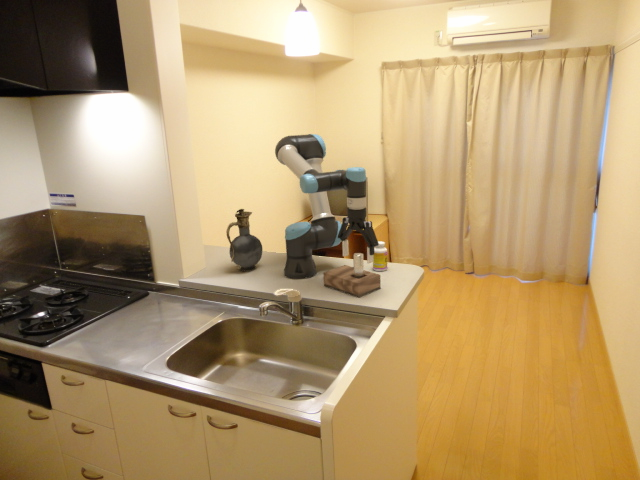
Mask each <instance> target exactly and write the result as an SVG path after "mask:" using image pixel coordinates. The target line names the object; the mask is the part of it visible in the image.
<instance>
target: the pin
mask: <svg viewBox="0 0 640 480" xmlns="http://www.w3.org/2000/svg"><path fill="white" fill-rule="evenodd" d="M364 266H365V265H364V253H361V252H355V253H353V267H354V277H355V278H358V279H360V278H362V277H364V270H365V268H364Z"/></svg>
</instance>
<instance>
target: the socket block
mask: <svg viewBox="0 0 640 480" xmlns="http://www.w3.org/2000/svg"><path fill="white" fill-rule="evenodd" d="M323 286H324V287H327V288H330V289H332V290H336V291H338V292H341V293H344V294H347V295H349V294H350V295H349V296H353V297H355V298H361V297H363V296H367V295H369V294H371V293H373V292H375V291H379V290H380V289H382V288H381V274H379V273H375V272H371V271H368V270H365V269H364V277H362V278H360V279H358V278H355V277H354V266H351V265H346V264H344V265H341V266H338V267H335V268H333V269H329V270H327V271H324V272H323Z"/></svg>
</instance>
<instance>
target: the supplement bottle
mask: <svg viewBox="0 0 640 480" xmlns="http://www.w3.org/2000/svg"><path fill="white" fill-rule="evenodd" d="M377 241H378V240H377ZM378 243H379V245H378V246H375V247H374V255H373V262H372V269H373V270H374V271H376V272H384V271H386V270H388V249H387V247H385V246H386V242H385V241H381V240H380V241H378Z"/></svg>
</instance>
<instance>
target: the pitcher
mask: <svg viewBox="0 0 640 480" xmlns="http://www.w3.org/2000/svg"><path fill="white" fill-rule="evenodd" d="M252 213H253V211H245V209H244V208H239V209H238V210H236V212H235V214H234V216H235V218H236V220H237V221H236V222H235V221H233V222H230V223H229V224H228V225H227V228H226V238H227V241H228V242H229V244H230V245H229V258H230V261H231V262H233V263H234V264H235V265H236V266H239V267H240V268H239V270H240V272H250V270H251V271H253V269H254V270H255V269H256V268H257V266H256V265H257V264H258V263H259V262H260V261H261V259H262V256H263V245H262V242H261V240H260V239H259V238H258V237H257V236H255V235H253V234H251V231H250V228H251V227H250V226H251V225H250V221H249V219H250V216H251V215H252ZM234 226H235V227H236V226H237V227H238V232H239V233H238V234H239V235H238V236H236V237H234V239H232V240H231V236H230V231H231V228H232V227H234Z"/></svg>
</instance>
